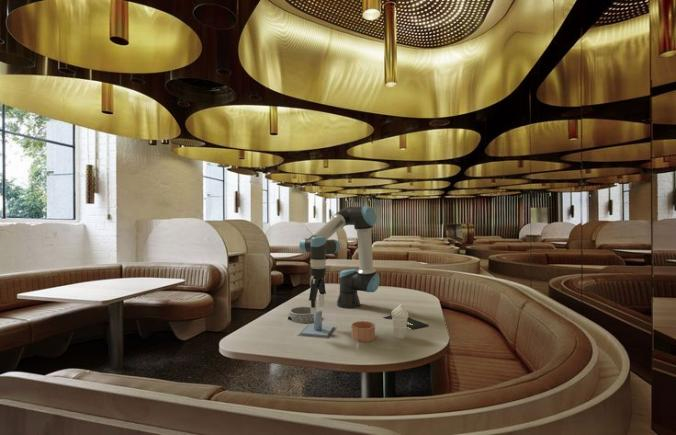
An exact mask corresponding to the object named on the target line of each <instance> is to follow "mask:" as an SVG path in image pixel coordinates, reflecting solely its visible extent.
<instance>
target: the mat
mask: <svg viewBox="0 0 676 435" xmlns="http://www.w3.org/2000/svg"><path fill="white" fill-rule="evenodd" d="M308 325H309V324H307V326H308ZM307 326H305V327H304V328H303V329H302V330H301V331H300V333H299V334H298V335H297V337H305V338H316V339H329V340H330V339H331V337H332V336H333V334H334V333H335V332H336V330H337V328H338V327H337V326H334V328H333V330H332V331H331V333H330V334H329V335H328V337H318V336H307V335H301V333H302V332H303V331H304V330H305V328H306V327H307Z"/></svg>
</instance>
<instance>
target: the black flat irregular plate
mask: <svg viewBox="0 0 676 435" xmlns="http://www.w3.org/2000/svg"><path fill="white" fill-rule="evenodd" d="M382 319H385V320H392V316H391V314H390V315H388V316H384V317H382ZM407 322H409V323H411V324H413V325H410V324H409V325H406V326H407V327H409V328H411V329H410V330H411V331H414V330H420V329H423V328H427V327H429V326H430V325H429V324H427V323H425V322H421V321H419V320H417V319H414V318H411V317H409V316H408V318H407Z"/></svg>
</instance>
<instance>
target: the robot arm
mask: <svg viewBox="0 0 676 435" xmlns="http://www.w3.org/2000/svg"><path fill="white" fill-rule="evenodd" d="M376 223H377V214H376V211H375V209H374V208H373V207H371V206H368V205H367V206H366V205H364V206H346V207H344V208H342V209H340V210H339V211H337V212H336V213H335V214H333V215H332V217H331V219H330V220H329V221H328V222H326V223H325V224H324V225H323V226H322V227H320V228H319V229H318V230H316V232H315V233H313V234H312V235H311V236H310V237H308V238H302V239H300V242H299V249H300V251H301V253H302V252H303V253H310V260H309V263H310V267H311V268H310V271H309V272H310V276H312V277H313V279H311V283H310V284H311V285H310V291H309V298H308V301H310V307H311V314H316V309H318V308H317V297H318V307H320V308H324V307H325V295H326V294H327V291H326V283H325V276H326V267H327V266H326V265H327V262H326V260H327V259H326V256H327V255H333V254H334V255H335V254H337V253H338V252H340V249H341V244H340V242H339V241H338V240H337V239H332V238H331V237H332V236H333V235H334V234H335V233H337V232H338V231H339V229H342V228H343V229H344V227H346V226H353V228H354V231H356V237H357V238H356V239H357V252H358V269H356V268H352V269H343V270H341V271H339V294H338V296H337V297H338V298H337V301H336V306H337V307H339V308H343V309H353V308H354V309H355V308H358V307H360V306H361V300H360V296H359V294H358V292H364V293H365V292H367V293H375V292H377V290H378V288H379V286H380V282H381V277H380V274H378V273H377V269H375V268H374V260H373V247H372V246H373V243H372V229H374V226H375V225H376ZM330 238H331V239H330Z"/></svg>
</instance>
